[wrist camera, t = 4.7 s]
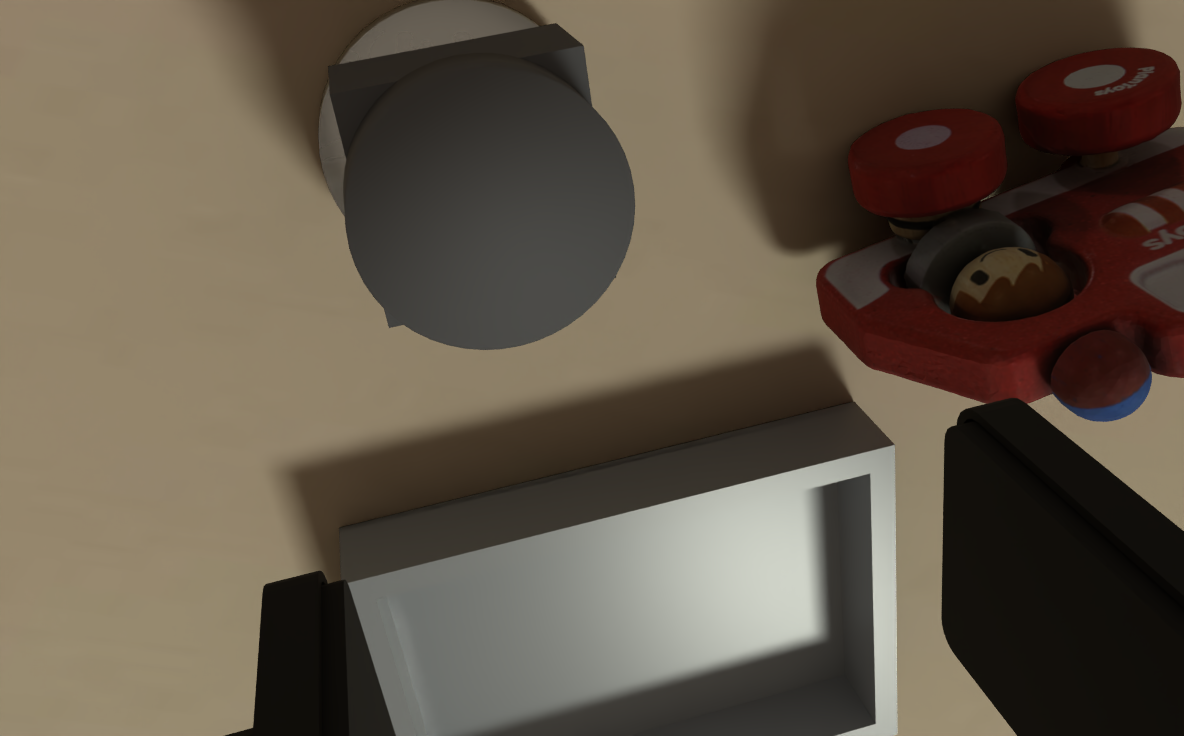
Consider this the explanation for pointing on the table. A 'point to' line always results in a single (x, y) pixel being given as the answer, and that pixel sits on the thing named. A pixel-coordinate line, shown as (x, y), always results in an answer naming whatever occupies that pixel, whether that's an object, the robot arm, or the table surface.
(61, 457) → the table surface
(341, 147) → the silver flared round stand
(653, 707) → the grey shallow rectangular tray
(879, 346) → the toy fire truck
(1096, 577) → the robot arm
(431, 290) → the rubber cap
